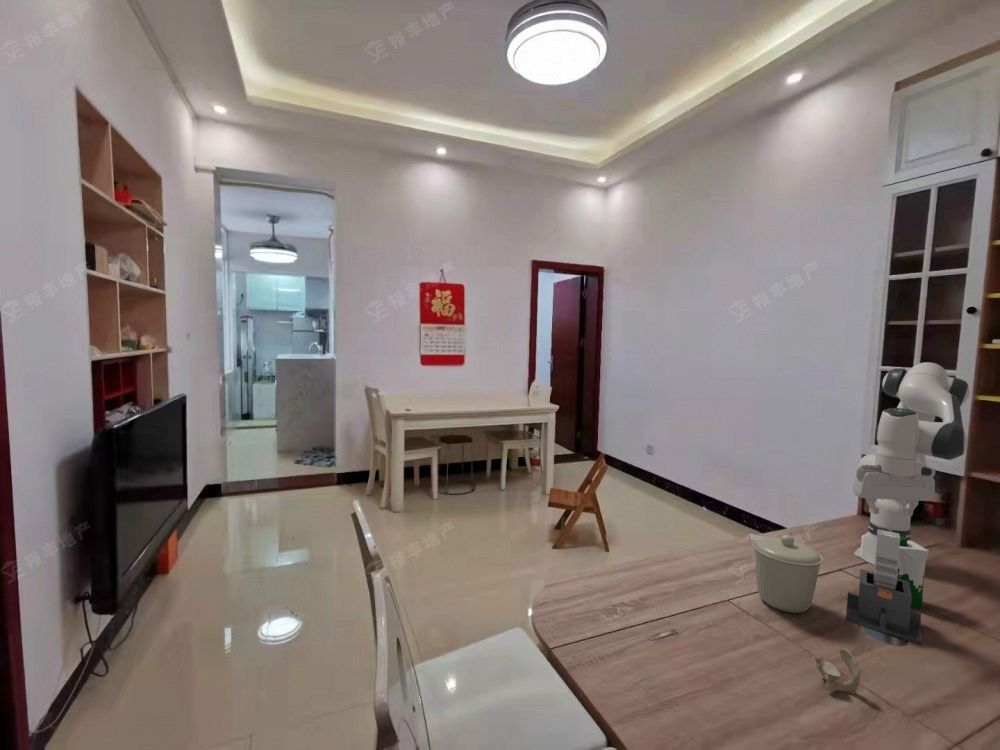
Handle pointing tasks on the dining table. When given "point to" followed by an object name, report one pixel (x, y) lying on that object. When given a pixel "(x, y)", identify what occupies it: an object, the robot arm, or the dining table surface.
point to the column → (886, 559)
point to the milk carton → (912, 568)
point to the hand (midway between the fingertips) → (890, 514)
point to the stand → (884, 608)
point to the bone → (832, 673)
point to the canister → (786, 572)
